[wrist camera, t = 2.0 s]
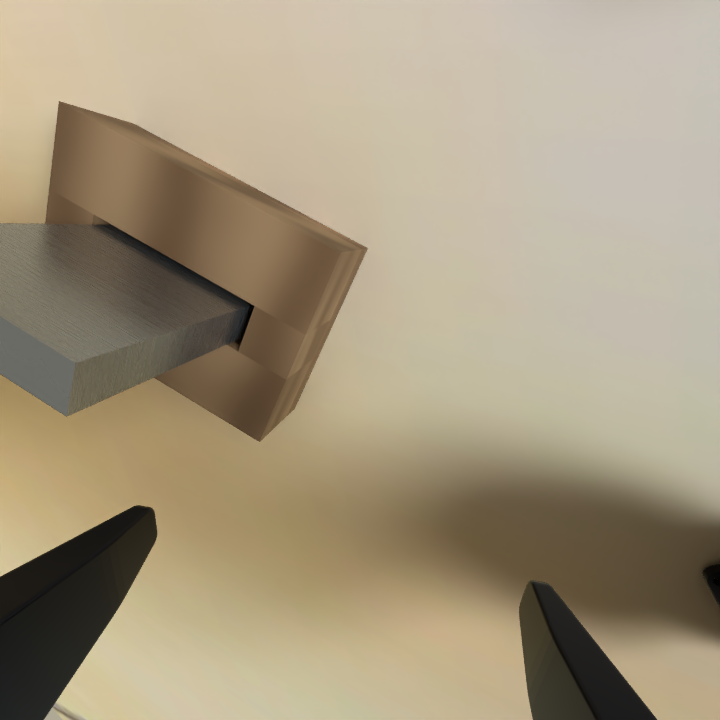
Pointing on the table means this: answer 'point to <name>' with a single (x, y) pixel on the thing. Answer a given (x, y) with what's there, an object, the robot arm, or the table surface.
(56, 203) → the walnut slot box
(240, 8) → the table surface
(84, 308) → the gray rectangular metal block
